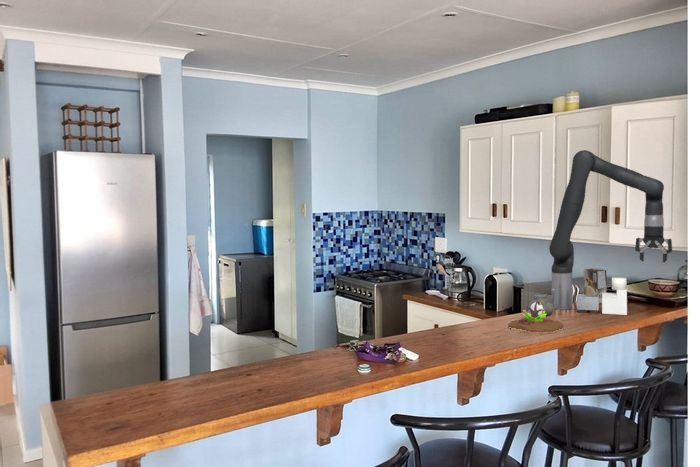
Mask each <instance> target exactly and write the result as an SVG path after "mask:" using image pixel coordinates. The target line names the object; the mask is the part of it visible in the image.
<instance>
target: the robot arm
mask: <svg viewBox="0 0 700 467" xmlns="http://www.w3.org/2000/svg"><path fill="white" fill-rule="evenodd" d="M591 172H593V173H597V174H600V175H602V176H604V177H607V178H609V179H611V180H613V181H615V182H617V183H619V184H621V185H624V186H626V187H629V188H632V189H636V190H638V191H641V192H643V193H645V205H644V222H643V223H644V225H643V226H644V227H643V228H644V229H643V231H644V232H643V233H644V234H643V237H642V238H641V237H637V238H636V239H635V250H634V251H635V252H638V253H639V260H640V261H641V262H644V260H645V250H646V249H647V248H649V249H659V250H660V251H661V252H662V253H663V254H662V263H666V262H667V261H668V254H670V253H672V252H673V241H672V240H673V239H672V238H665V237H664V229H665V228H664V226H665V222H664V221H665V219H664V203H663V199H664V198H663V196H664V189H665V187H664V183H663V181H660V180H658V179H656V178H653V177H652V176H651V177H650V176H648V175H644V174H641V173H640V172H637V171H635V170H632V169H630V168H627V167H624V166H621V165H619V164H618V165H617V164H615V163H612V162H609V161H606V160H605V159H603V158H601V157H599V156H597V155H596V154H594V153H593V152H592V151H590V150H579V151H578V152H576V153H575V154H574V155H573V157H572V165H571V171H570V177H569V181H568V183H567V186H566V189H565V191H564V194H563V195H564V196H563V198H562V201H561V205H560V210H559V213H558V214H559V215H558V219H557V221H556V222H557V223H556V227H555V231H554V233H553V236H552V239H551V241H550V243H549V249H548V251H549V254H550V255H551V257H552V258H553V264H552V266H551V292H550V293H551V304H552V305H553V307H554V310H561V311H562V310H566V311H567V310H568V311H569V310H572V309H574V307H573V306H574V301H573V300H574V298H573V297H574V292H573V285H574V284H573V268H574V258H575V255H574V253H575V252H574V251H575V250H574V249H575V248H574V245H573V242H572V241H571V237H572V233H573V230H574V228H575V226H576V225H577V222H578V221H579V219H580V217H581V215H582V210H583V207H584V204H585V198H586V190H587V189H586V188H587V183H588V178H589V176H590V173H591ZM642 242H643V244H644V245H643V246H642V248H640V246H641V243H642ZM664 243H666V244H667V249H666V247H665V246H664Z"/></svg>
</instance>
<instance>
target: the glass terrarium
mask: <svg viewBox="0 0 700 467" xmlns="http://www.w3.org/2000/svg"><path fill="white" fill-rule="evenodd" d="M537 301H539V302H541V305H538V303H537V311H538V310H539V309H543V310H544V311H545V314H546V313H547V315H546V316H548V315H551V314H553V313H554V310H555V309H554V307H553V305H552V302H551V301H549V300H548V298H547V295H546V294H534V300H532V301H530V302H529V304H528V306H527V307H530V308H531V309H532V310H533V311H534V307H535V304H536V302H537ZM527 311H528V312H527V313H529V314H531V311H530V309H527ZM539 314H540V316H541V315H543V314H542V311H539Z"/></svg>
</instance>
